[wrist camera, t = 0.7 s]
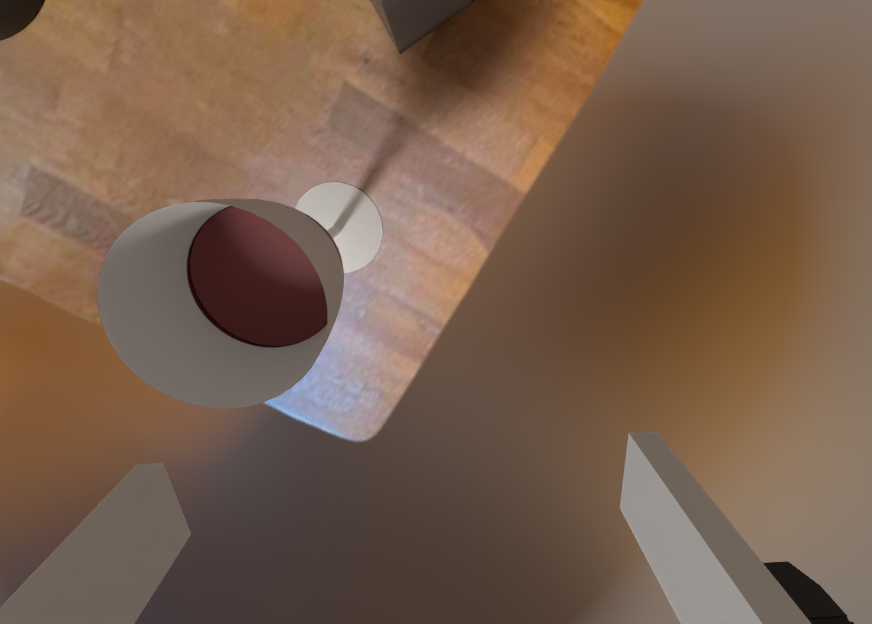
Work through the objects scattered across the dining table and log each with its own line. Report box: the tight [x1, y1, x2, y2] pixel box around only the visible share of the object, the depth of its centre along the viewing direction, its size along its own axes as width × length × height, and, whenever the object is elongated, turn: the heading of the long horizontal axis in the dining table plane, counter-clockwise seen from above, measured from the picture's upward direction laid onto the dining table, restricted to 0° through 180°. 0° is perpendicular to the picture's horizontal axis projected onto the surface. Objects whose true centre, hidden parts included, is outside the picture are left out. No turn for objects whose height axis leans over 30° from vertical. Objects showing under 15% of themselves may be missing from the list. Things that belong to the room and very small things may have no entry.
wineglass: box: [97, 182, 383, 408], centre depth 28 cm, size 9×10×23 cm
